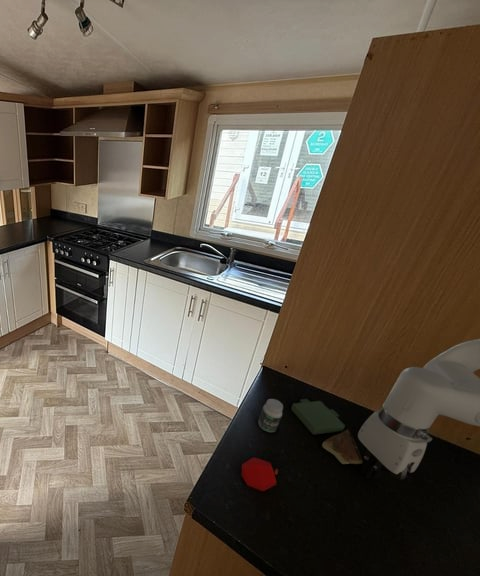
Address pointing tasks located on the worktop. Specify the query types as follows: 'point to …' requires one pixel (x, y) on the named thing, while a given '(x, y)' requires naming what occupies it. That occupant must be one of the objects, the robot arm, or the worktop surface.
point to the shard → (343, 448)
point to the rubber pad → (317, 417)
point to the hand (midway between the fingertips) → (368, 474)
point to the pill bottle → (270, 415)
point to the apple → (258, 474)
